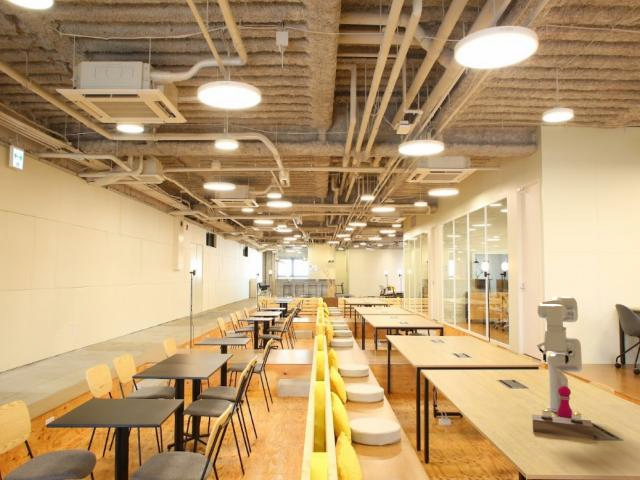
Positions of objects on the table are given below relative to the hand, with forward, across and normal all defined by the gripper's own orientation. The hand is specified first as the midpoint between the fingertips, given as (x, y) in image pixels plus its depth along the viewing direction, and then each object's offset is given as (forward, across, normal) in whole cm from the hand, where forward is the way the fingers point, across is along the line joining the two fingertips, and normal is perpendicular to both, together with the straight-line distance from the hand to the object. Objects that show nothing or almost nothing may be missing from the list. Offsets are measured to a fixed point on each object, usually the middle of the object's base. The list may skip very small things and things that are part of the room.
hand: (555, 362), depth 245 cm
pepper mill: (+32, -5, -10) cm, 34 cm away
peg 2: (+27, -8, +9) cm, 29 cm away
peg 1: (+27, +5, +9) cm, 29 cm away
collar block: (+32, -1, +9) cm, 34 cm away
